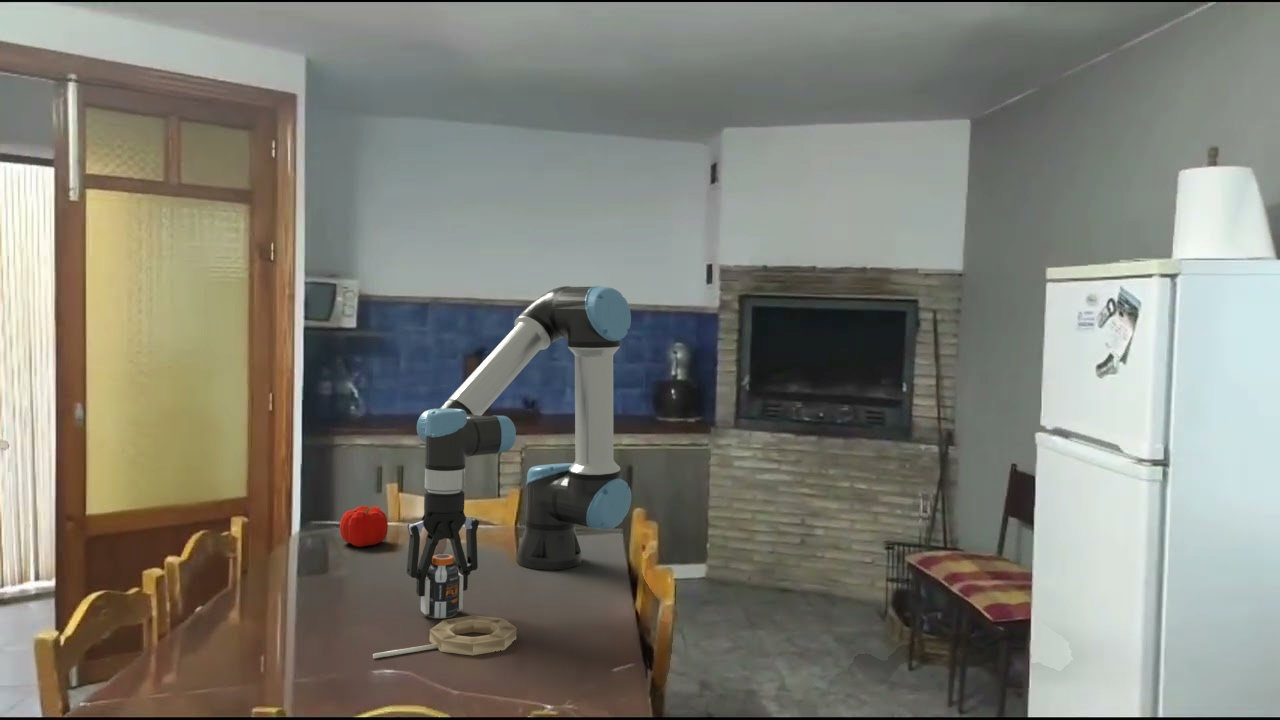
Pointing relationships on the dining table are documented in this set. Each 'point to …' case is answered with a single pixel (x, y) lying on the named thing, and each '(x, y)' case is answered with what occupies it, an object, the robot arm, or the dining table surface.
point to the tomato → (364, 526)
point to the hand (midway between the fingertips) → (441, 609)
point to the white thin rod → (405, 651)
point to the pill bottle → (443, 587)
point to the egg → (439, 548)
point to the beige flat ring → (452, 643)
